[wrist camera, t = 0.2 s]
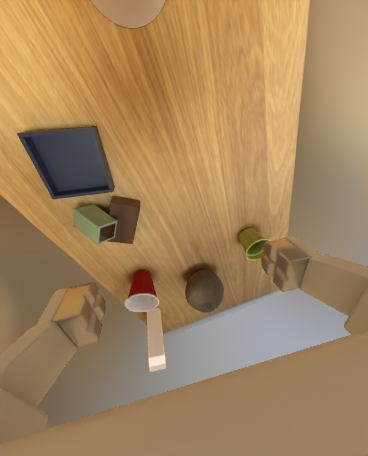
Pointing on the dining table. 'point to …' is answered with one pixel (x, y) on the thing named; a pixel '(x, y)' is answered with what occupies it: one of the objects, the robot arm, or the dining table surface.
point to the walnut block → (124, 218)
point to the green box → (95, 223)
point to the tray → (69, 161)
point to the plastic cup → (142, 293)
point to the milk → (155, 340)
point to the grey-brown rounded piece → (204, 291)
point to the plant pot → (252, 243)
